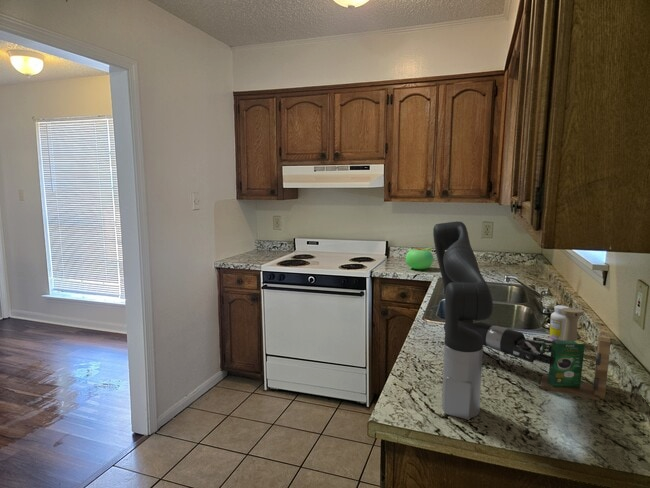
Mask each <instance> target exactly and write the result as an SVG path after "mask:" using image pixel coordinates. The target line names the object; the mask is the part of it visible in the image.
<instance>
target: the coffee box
mask: <svg viewBox="0 0 650 488" xmlns="http://www.w3.org/2000/svg"><path fill="white" fill-rule="evenodd" d="M585 346H586V344H585V343H584V342H582V341H580V340H577V341H571V340H552V348H551V353H550V356H552V357H554V364H553V365H550V364H549V368H548V375H547V376H548V383H549V384H550V385H551V386H552V387H580V384H581V383H582V374H583V363H584V358H585V357H584V355H585V348H586V347H585Z"/></svg>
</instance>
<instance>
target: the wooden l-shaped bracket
mask: <svg viewBox="0 0 650 488" xmlns="http://www.w3.org/2000/svg"><path fill="white" fill-rule="evenodd" d="M606 334H607V333H606V330H605V329H602V328H600V331H599V335H598V340H597V341H598V342H597V350H596V351H597V352H596V358H595V370H594V379H593V384H588V383H583V382H581V384H580V387H552V386H551V385H550V384H549V383H548V376H549V375H544V374H542V376H541V383H540V389H542V390H547V391H552V392H557V393H560V394H565V395H570V396H574V397H577V398H578V397H579V398H584V399H589V400H593V401H598V402H601V399H603V400H605V398H606V390H607V381H608V380H607V379H608V369H609V359H610V350H611V338H610V337H609V336H607V335H606Z"/></svg>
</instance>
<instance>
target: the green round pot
mask: <svg viewBox="0 0 650 488" xmlns="http://www.w3.org/2000/svg"><path fill="white" fill-rule="evenodd" d="M432 249H433V247H426V248H421V247H416V248H413V249H412V248H408V252H407V253H406V255H405V263H406V264H407V266H408V267H410V268H412V269H414V270H426V269H429V268H430V267H432V265H433V264H434V259H435V258H434V255H433V254H432V252H431V250H432Z"/></svg>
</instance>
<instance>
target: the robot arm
mask: <svg viewBox="0 0 650 488" xmlns="http://www.w3.org/2000/svg"><path fill="white" fill-rule="evenodd" d="M432 231H433V232H432V234H433V236H432V237H433V243H434V249H435V252H436V257H437V263H438V266H439V271H440V275H441V279H442V283H443V284H442V285H443V292H444V309H445V310H444V311H445V312H444V313H445V319H444V320H445V321H444V325H443V330H444V347H443V349H444V350H443V366H442V367H443V368H442V369H443V371H442V393H441V394H442V397H441V399H442V400H441V406H442V409H443V414H446V415H448V416H453V417H457V418H460V419H463V420H468V421H470V419H472V418H475V417H477V416H478V415H479V414H480V409H481V408H480V406H481V391H482V372H483V371H482V369H483V355H484V346H485V347H487V348H491V349H492V350H494V351H498V352H499V353H500V352H501V353H504V354H507V355H510V356H513V357H515V358H518V359H521V360H523V361H526V362H529V363H534V362H541V363H545V364H548V365H549V366H550V365H553V364H554V357H552V356H551V355H549V354H546V353H550V354H551V348H552V341H551V340H548V339H543V338H540V337H536V336H533V337H532V339H527V338H526V337H525V334H524V333H523V332H521V331H518V330H514V329H510V328H506V327H503V326H497V325H493V324H489V323H486V322H482V321H485V320H488V319H489V318H490V317H491V315H492V314H493V310H494V309H493V308H494V301H493V297H492V293H491V290H490V287H489V285H488V284H487V282H486V280H485V277H483V275H482V273H481V270H480V268H479V264H478V260H477V258H476V255H475V253H474V251H473V249H472V245H471V242H470V238H469V232H468V228H467V226H466V224H465V223H464V222H462V221H459V220H458V221H449V222H442V223H436V224H435V225H434V226H433V230H432ZM474 321H477V322H474ZM478 321H479V322H478Z"/></svg>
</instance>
